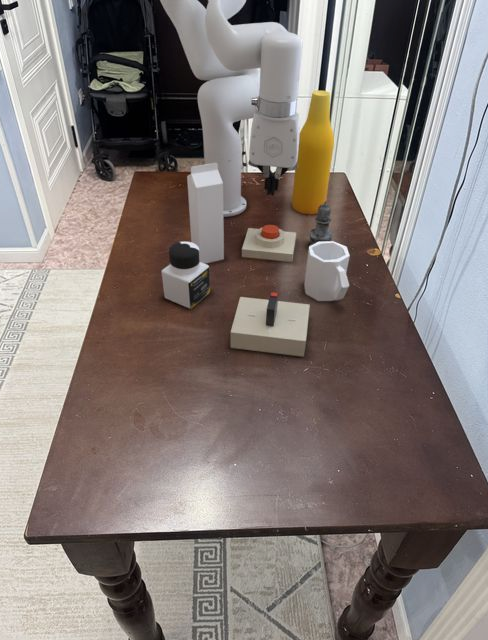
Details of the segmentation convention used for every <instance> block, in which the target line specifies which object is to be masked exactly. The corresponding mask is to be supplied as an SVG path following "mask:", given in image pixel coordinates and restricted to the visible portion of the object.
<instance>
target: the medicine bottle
mask: <svg viewBox="0 0 488 640" xmlns="http://www.w3.org/2000/svg"><path fill="white" fill-rule="evenodd" d="M168 257H169V264H168V265H166V266H165V267H164V268H163V269H161V279H162V280H161V281H162V288H163V296H164V299H166V300H168V301H170V302H173V303H176V304H177V305H180V306H183V307H185V308H187V309H188V310H189V309H190V310H191V309H193V308H194V307H195V306H196V305H198V304H199V303H200V302H201V301H202V300H203V299H204V298H205V297H207V296H208V295H209V294H210V293H211V285H210V265H208V263H206V264H204V263H201V262H200V255H199V247H198V246H197V245H196V244H194V243H192V242H191V241H186V240H185V241H178V242H174V243H173V244H171V246H170V247H169V248H168Z"/></svg>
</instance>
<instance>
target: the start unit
mask: <svg viewBox="0 0 488 640" xmlns="http://www.w3.org/2000/svg"><path fill="white" fill-rule="evenodd" d="M296 240H297V232H295V231H284V230H283V229H281V228H279V236H278V238H275V239H266V238H264V237H262V227H260V228H255V227H254V228H253V227H248V228H247V231H246V235H245V237H244V241H243V244H242V247H241V258H248V259H249V258H250V259H258V260H269V261H278V262H288V263H293V260H294V253H295V246H296Z"/></svg>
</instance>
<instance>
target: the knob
mask: <svg viewBox="0 0 488 640" xmlns="http://www.w3.org/2000/svg"><path fill="white" fill-rule="evenodd" d="M268 300H269V302H268V306H267V313H266V325H268V326H274V322H275V318H276V313H277V306H278V301H279V293H278V292H273V291H272V292H270V294H269V299H268Z"/></svg>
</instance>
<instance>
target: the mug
mask: <svg viewBox="0 0 488 640" xmlns="http://www.w3.org/2000/svg"><path fill="white" fill-rule="evenodd" d="M350 255H351V254H350V252H349V250H348V246H346V245H344V244H341V243H338V242H336V241H334V240H333V241H332V240H331V241H325V242H317V243H315V244H313V245H311V246H310V247H309V246H308V251H307V259H306V268H305V275H304V284H303V286H304V287H303V288H304V293H305V295H306V296H308V297H310V298H312V299H314V300H316V301H317V302H333V301H339V300H340V301H341V300H343V299H344V298H345V297H346V294H347V292H348V289H349V288H350V282H349V279H348V276H347V275H348V274H347V272H348V267H349V261H350Z"/></svg>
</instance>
